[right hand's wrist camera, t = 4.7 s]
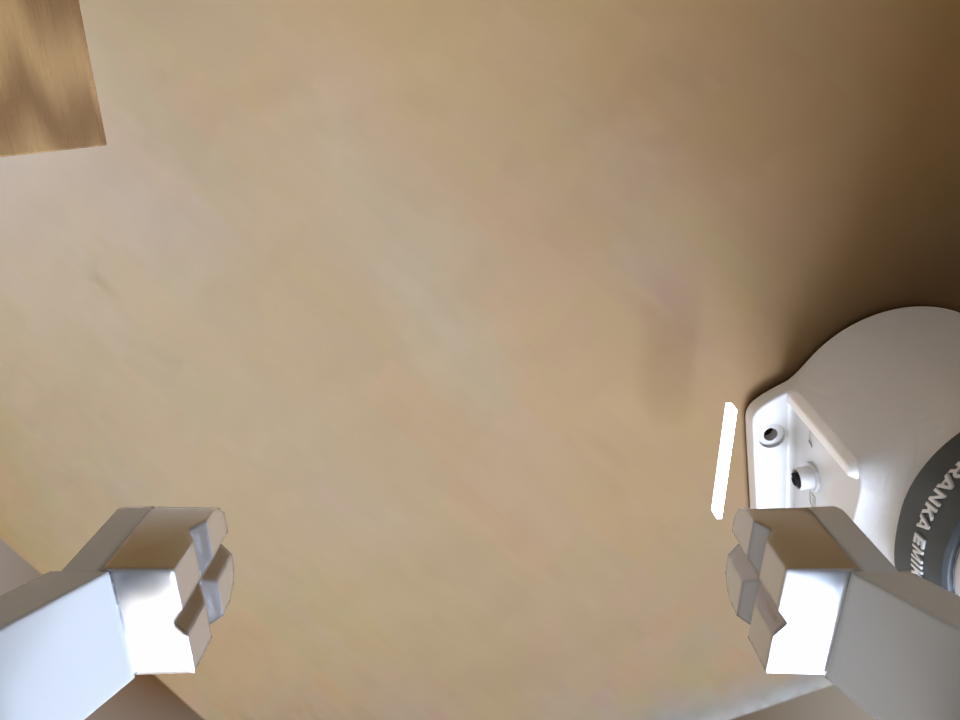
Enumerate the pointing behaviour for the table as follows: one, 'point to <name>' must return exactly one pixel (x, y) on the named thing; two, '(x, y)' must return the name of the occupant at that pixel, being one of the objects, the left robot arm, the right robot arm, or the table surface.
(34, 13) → the bar
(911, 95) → the table surface
